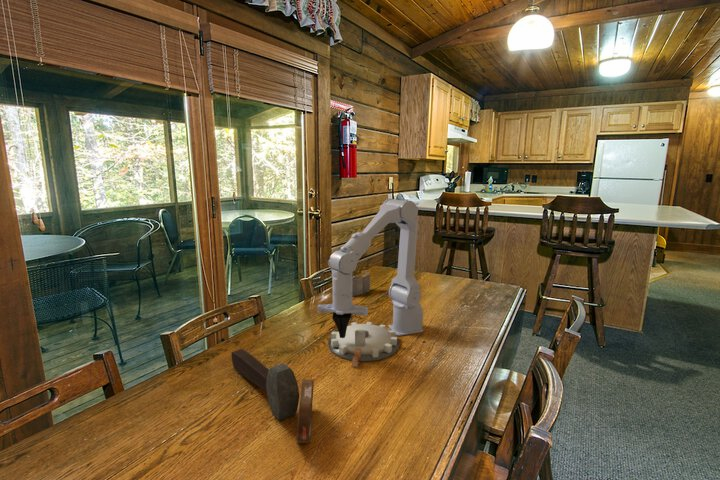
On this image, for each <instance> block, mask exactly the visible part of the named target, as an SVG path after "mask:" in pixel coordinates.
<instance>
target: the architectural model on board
mask: <svg viewBox="0 0 720 480" xmlns="http://www.w3.org/2000/svg"><path fill="white" fill-rule="evenodd" d="M361 273H362V274H361V275H358V276H352V298H353V297H355V296H359V295H362V294H365V293H369V292H370V291H371V275H370V273H369V272H368V271H367V270H366V269H364V270H361Z"/></svg>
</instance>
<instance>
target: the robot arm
mask: <svg viewBox="0 0 720 480" xmlns="http://www.w3.org/2000/svg"><path fill="white" fill-rule="evenodd" d="M418 216H419V207H418V206H417V204H415V202H414V201H412V200H401V199H394V198H387V199H386V200H385V201H384V202H383V203H382V204H381V205H379V210H378V212H377V213H376V215H375V216H374V217H373V218H372V219H371V221H370V222H369V223H368V224H367V226H366V227H365V228H364V229H363V231H358V232H355V233H352V234H351V235H350V236H351V237H350V239H349V240H348V241H347V242H346V243H345V244H344V245H342V246H341V247H340V249H339V250H336V251H334V252H333V253H332V254H331V255H330V257H329V260H327V265H328V267H329V269H330V270H331V274H332V275H331V277H332V278H331V279H332V282H331V283H332V303H328V304H327V303H326V304H320V303H319V304H318V305H317V314H321V313H329V314H332V316H331V318H332V321H333V322H334V324H335V326H336V328H337V332H339V336H340V338H345V336H346V330H347V326H349V323H350V321H351V318H352V315H355V316H356V315H357V316H358V315H359V316H363V317H367V316H368V313H369V312H368V311H369V307H367V306H360V305H355V304H353V297H352V278H353V272H354V271H356V268H357V266H358V262H359V261H360V258H362V256H363V255H364V254H365V253H366V252H367V251H368V249H370V247H371V246H372V239H374V238H375V237H376V235H378V234H379V233H380V232H381V231H383V229H384V228H385V227H386V226H388V224H394V223H395V224H396V226H398V228H399V229H400V233H399V244H398V245H399V247H398V259H397V271H396V273H397V274H396V275H395V276H394V277H393V278H392V279H391V283H390V287H389V288H388V297H389V298H390V299H391V303H392V304H393V305H392V307H393V308H392V309H393V310H392V324H388V326H387V327H388V328H389V330H394V331H395V336H396V337H397V336H400V337H401V336H406V335H412V334H419V333H424V329H423V322H424V321H423V316H424V311H423V307H422V305H421V304H420V302H421V300H422V299H421V298H422V295H421V290H420V289H421V287H420V283H419V281H418V280H417V279H416V278H415V267H416V255H417V242H418V229H419V221H418Z"/></svg>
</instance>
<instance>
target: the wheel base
mask: <svg viewBox="0 0 720 480" xmlns="http://www.w3.org/2000/svg"><path fill="white" fill-rule="evenodd" d="M395 337H397V335H395ZM327 341H328V342H327V346H328V349H329V351H330V352H331V353H332V354H333V355H335V356H337V357H338V358H341V359H343V360H345V361H349V362H350V361H351V367H352V368H358V367H359V364H360V363H370V362H371V363H372V362H377V361H378V362H379V361H383V360H385V359H388V358H391V357H393V356H394V355H395V354H397V352H398V351H399V350H400V349H399V348H400V341H399V339H398V337H397V345H396V346H393V345H392V352H390V353H387V352H381V353H379V354H378V357H375V358H373V357H372V355H361V357H358V356H355V354H350V353H345V354H340V353H339V347H334V348H332V346H331V336H330V337H329V339H328V340H327Z"/></svg>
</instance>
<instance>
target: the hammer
mask: <svg viewBox="0 0 720 480" xmlns="http://www.w3.org/2000/svg"><path fill="white" fill-rule="evenodd" d="M231 363H232V366H233V369H234V370H235V371H236V372H237V373H238V374H239V375H240V376H242V377H243V378H245V379H246V380H248V381H249V382H250V383H253V384H254V385H255V386H257V387H258V388H260V389H261V390H263V391H264V392H266V397H267V401H268V404H269V407H270V411H271V414H272V415H273V416H274V418H276V419H277V420H278V421H279V422H281V421H283V420H285V419H287V418H290V417H291V416H294V415H295V414H296V413H298V412H297V411H298V410H299V401H300V389H299V385H298V384H299V383H298V380H297V378H296V374H295V372H294V371H293V370H292V369H291V368H290V367H289V365H287V364H285V363H280V364H277V365H275V366H272V367H270V368H267V366H265V365H264V364H263V363H262V362H261V361H259V359H257V358H256V357H255V356H253V354H251V353H250V352H248V351H246V350H245V349H242V348H240V349H237V350H235V351H232V352H231Z"/></svg>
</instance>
